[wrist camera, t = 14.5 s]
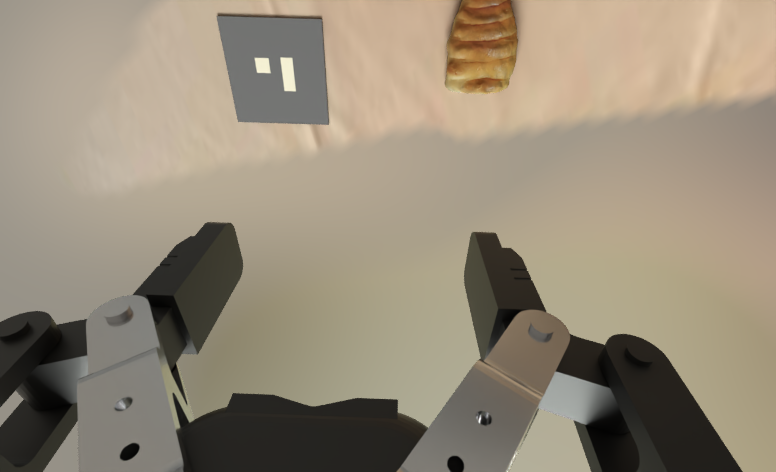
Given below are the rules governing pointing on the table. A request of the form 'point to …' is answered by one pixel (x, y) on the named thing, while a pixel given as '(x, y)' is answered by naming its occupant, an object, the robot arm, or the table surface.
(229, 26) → the mat
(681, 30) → the table surface
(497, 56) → the pastry
